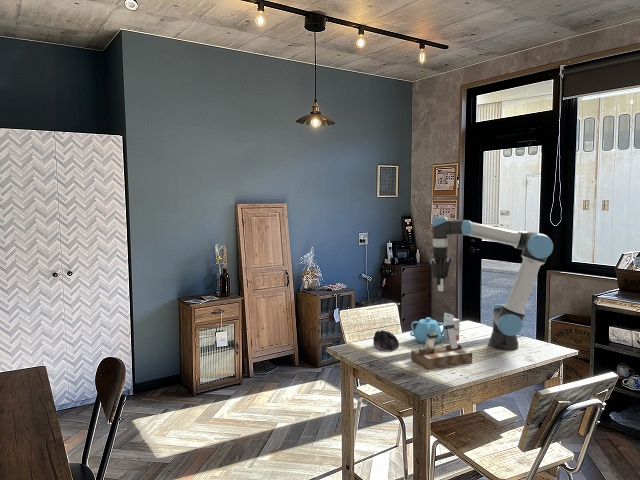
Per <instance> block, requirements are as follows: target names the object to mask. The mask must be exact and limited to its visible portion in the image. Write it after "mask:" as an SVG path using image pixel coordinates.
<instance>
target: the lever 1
mask: <svg viewBox="0 0 640 480" xmlns="http://www.w3.org/2000/svg"><path fill="white" fill-rule="evenodd" d="M437 337H438V334H437V333H436V332H430V333H428V334H427V339H426V342H425V343H424V345H423V348H422V349H423V350H424V354H425V353H431V351H432V349H433V348H434V345H435V344H434V343H435V340H436V338H437Z"/></svg>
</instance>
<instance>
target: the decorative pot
mask: <svg viewBox="0 0 640 480" xmlns="http://www.w3.org/2000/svg"><path fill="white" fill-rule="evenodd" d="M415 324H416V326H415V328H414V325H415ZM440 325H441V326H442V329H441V327H440ZM444 326H445V325H444V322H438V321H437V320H435V319H432V317H428V316H427V317H425V319H424V318H422V319H419V320H418V321H417V320H415V321H412V322H411V325H410V327H411V331H410V332H409V335H410V336H411V337H414V339H415V340H416V341H417V342H419V344H421V343H422V344H425V342H426V339H427V334H428V333H430V332H436V333H437V334H438V337H437V338H436V340H435V343H434V345H437V344H438V343H439V342H440V341H441V339H446V338H445V337H446V335H445V334H444V330H445V328H444ZM443 335H444V336H443Z"/></svg>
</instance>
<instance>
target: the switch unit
mask: <svg viewBox="0 0 640 480" xmlns="http://www.w3.org/2000/svg"><path fill="white" fill-rule="evenodd" d="M457 345H458V348H453V349H452V347H451V346H449V344H447V345H445V346H444V345H443V346H437V347H433V349H432V351H431V353H425V354H424V350H423V348H419V349H413V350H411V351H410V357H411V358H410V360H411V362H413V363H415V364H417V365H418V366H420V367H421V368H423V369H425V370H426V371H429V370H435V369H440V368H448V367H455V366H462V365H467V364H473V352H471V351H469V350H467V349H464V348H463V347H462V345H461V344H459V343H457Z"/></svg>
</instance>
